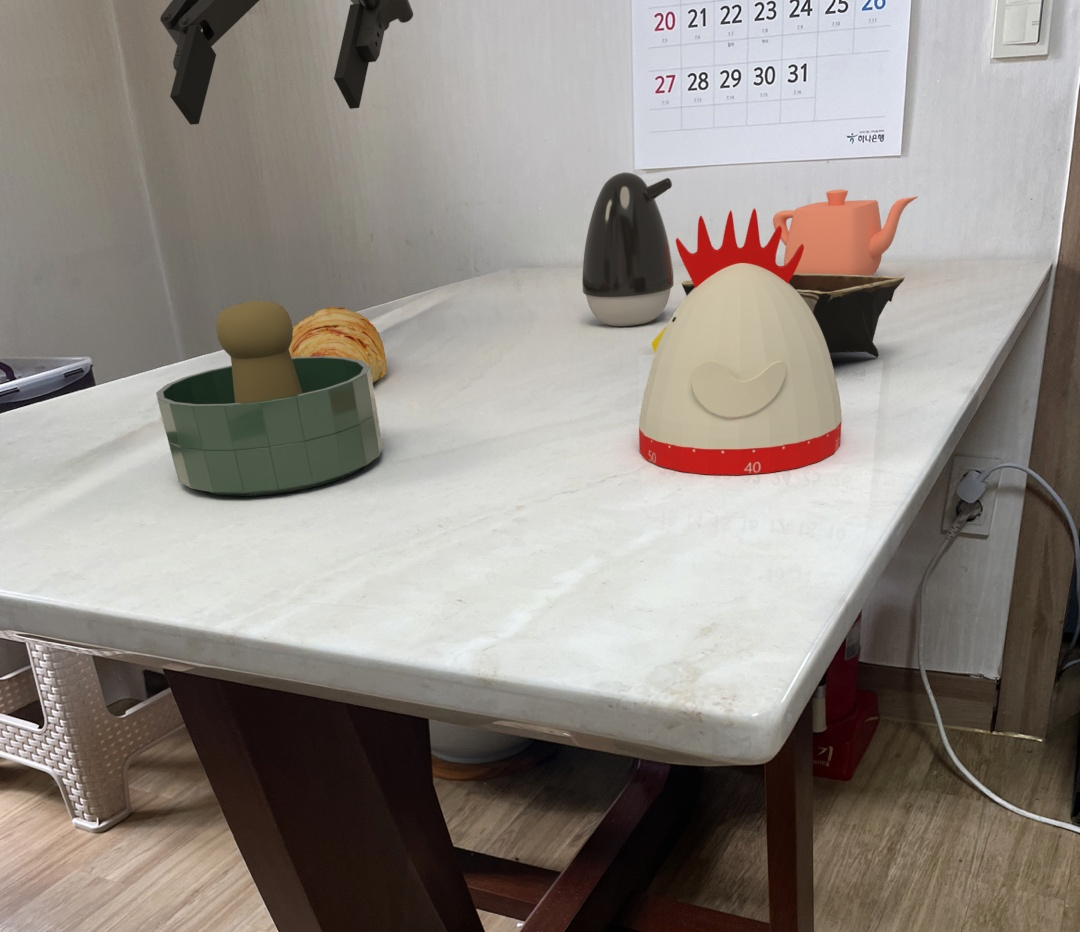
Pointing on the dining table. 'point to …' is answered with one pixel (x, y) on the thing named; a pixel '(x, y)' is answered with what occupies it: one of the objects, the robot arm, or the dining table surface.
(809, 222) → the teapot
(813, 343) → the kitchen timer
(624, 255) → the pump dispenser
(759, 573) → the dining table surface
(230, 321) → the cork
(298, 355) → the croissant
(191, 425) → the green tiled bowl
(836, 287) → the baking dish
